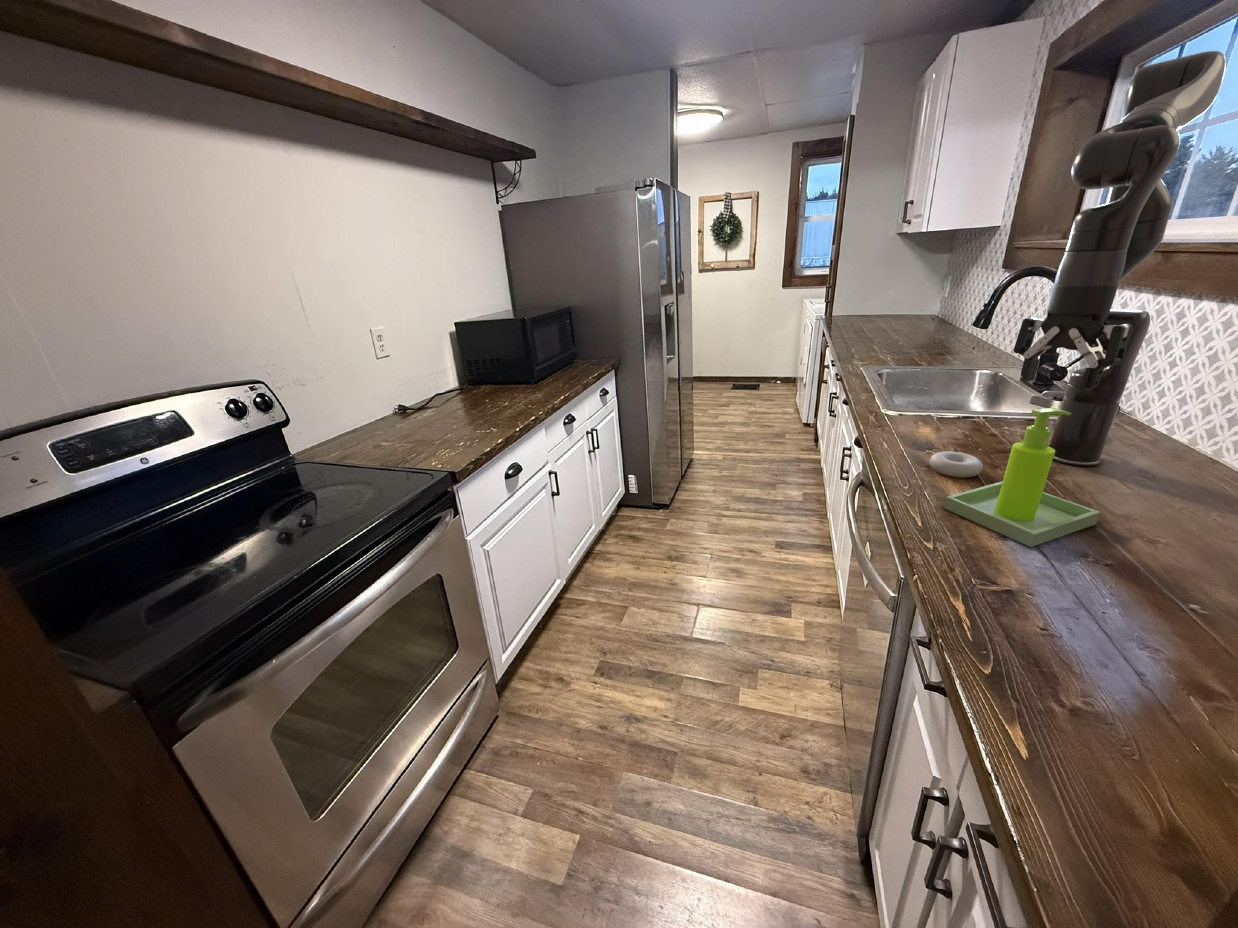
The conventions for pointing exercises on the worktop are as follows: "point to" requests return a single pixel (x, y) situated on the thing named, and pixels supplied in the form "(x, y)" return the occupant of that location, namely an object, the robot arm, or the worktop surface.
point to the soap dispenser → (1027, 470)
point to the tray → (1048, 523)
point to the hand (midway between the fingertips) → (1055, 385)
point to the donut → (956, 464)
